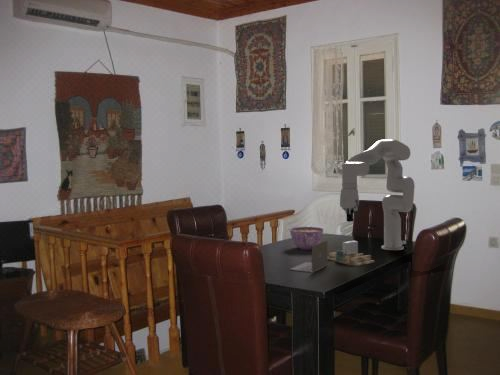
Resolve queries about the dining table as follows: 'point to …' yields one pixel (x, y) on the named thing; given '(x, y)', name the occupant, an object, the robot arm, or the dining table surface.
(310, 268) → the laptop
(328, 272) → the dining table surface
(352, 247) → the grey rectangular block
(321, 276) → the dining table surface
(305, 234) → the bowl of food
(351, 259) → the bay rack
